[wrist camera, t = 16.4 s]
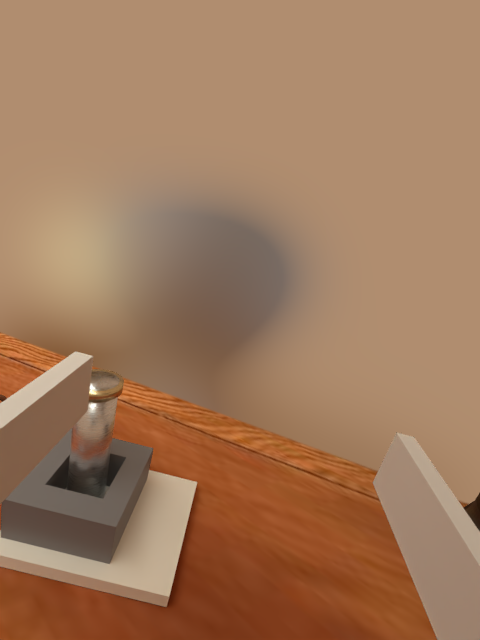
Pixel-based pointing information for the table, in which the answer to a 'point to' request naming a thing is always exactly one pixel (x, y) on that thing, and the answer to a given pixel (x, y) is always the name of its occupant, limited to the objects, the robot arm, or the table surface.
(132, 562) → the board
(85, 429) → the steel pin
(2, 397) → the cup and saucer
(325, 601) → the table surface
